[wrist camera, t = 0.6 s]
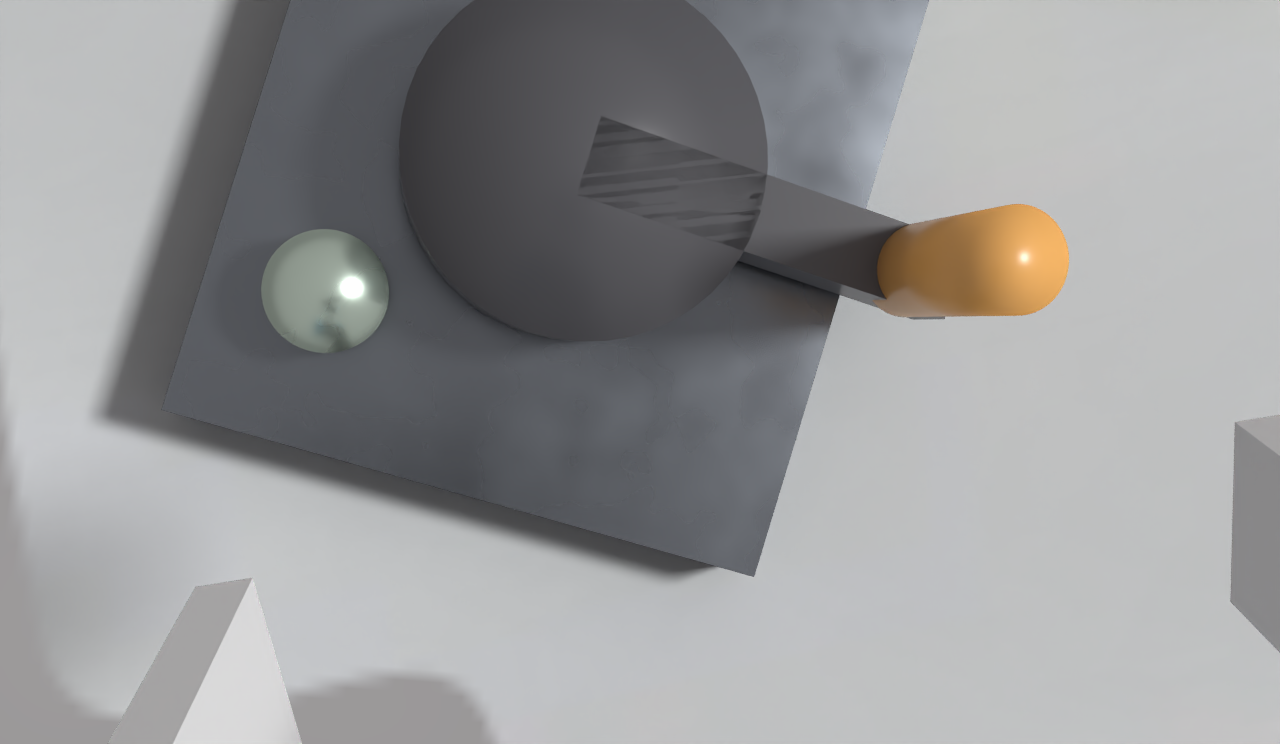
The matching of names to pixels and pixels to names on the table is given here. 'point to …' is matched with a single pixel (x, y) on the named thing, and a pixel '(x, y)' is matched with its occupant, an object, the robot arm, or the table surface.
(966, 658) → the table surface
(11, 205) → the table surface
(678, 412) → the base
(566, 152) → the domed crank handle
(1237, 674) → the table surface
